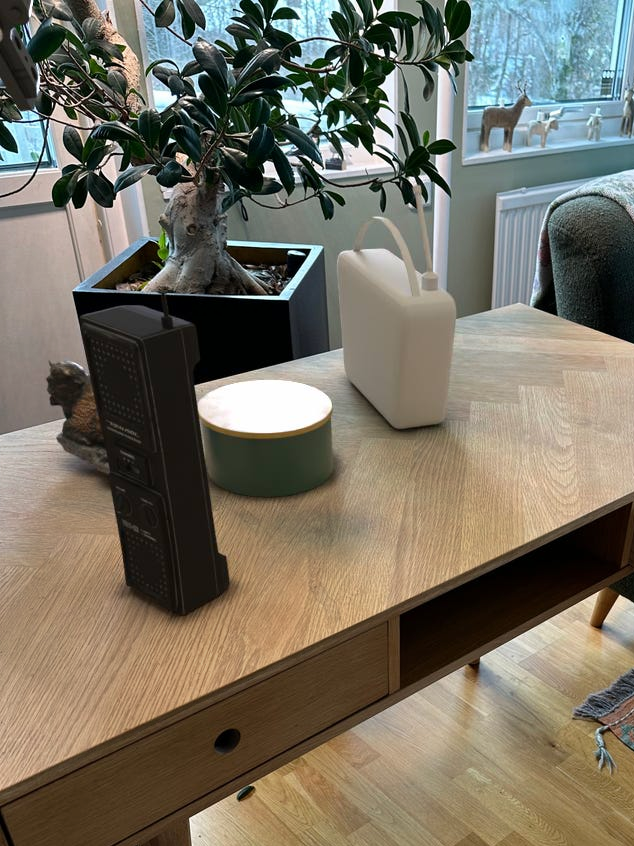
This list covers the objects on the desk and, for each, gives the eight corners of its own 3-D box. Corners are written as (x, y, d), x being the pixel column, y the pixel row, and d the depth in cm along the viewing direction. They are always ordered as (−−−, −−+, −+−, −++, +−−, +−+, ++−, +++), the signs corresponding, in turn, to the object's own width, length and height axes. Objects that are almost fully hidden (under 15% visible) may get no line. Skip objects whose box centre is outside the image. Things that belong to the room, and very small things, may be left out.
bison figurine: (178, 471, 92) (163, 377, 86) (125, 497, 87) (105, 399, 81) (98, 440, 96) (78, 348, 90) (43, 463, 91) (18, 368, 85)
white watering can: (465, 430, 104) (478, 199, 89) (400, 440, 101) (401, 201, 85) (395, 365, 119) (396, 158, 104) (337, 372, 116) (329, 159, 101)
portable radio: (115, 585, 75) (44, 280, 60) (172, 556, 79) (119, 263, 64) (177, 620, 72) (119, 306, 56) (233, 588, 76) (193, 287, 60)
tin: (179, 465, 93) (169, 402, 88) (280, 430, 101) (275, 370, 97) (260, 511, 86) (253, 445, 82) (361, 469, 94) (359, 407, 90)
